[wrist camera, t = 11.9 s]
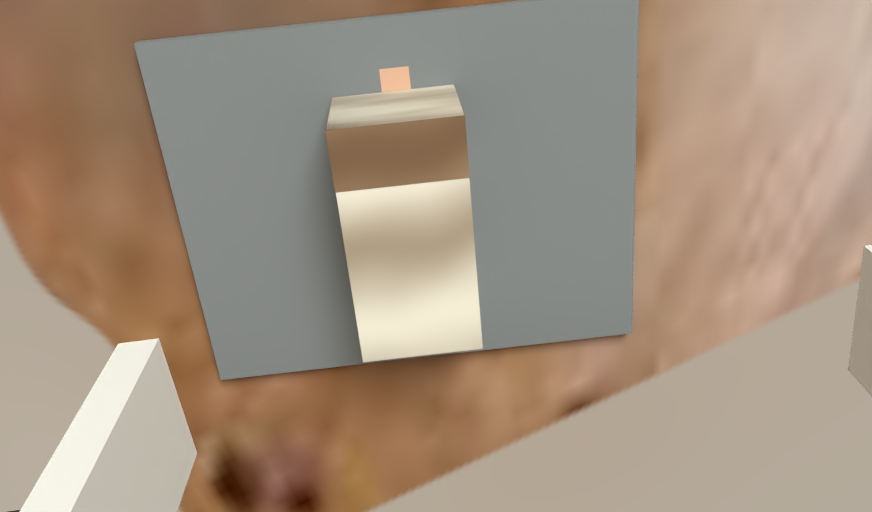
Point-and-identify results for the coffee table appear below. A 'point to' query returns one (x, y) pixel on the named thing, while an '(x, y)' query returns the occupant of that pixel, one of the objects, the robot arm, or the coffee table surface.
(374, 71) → the mat
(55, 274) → the coffee table surface
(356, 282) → the cream block
